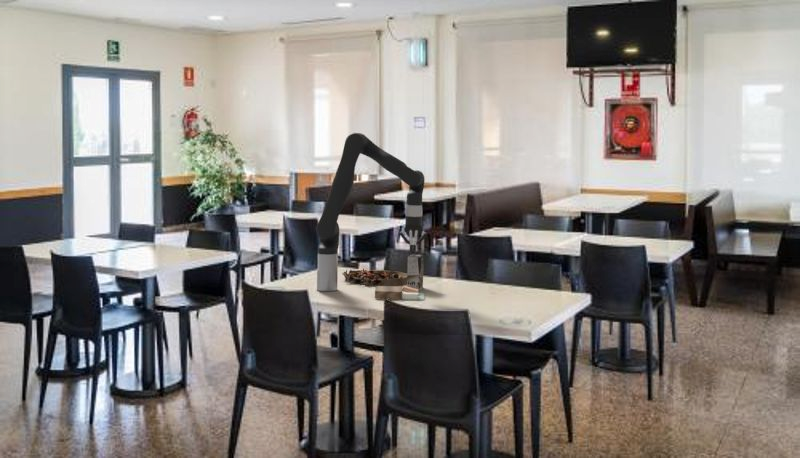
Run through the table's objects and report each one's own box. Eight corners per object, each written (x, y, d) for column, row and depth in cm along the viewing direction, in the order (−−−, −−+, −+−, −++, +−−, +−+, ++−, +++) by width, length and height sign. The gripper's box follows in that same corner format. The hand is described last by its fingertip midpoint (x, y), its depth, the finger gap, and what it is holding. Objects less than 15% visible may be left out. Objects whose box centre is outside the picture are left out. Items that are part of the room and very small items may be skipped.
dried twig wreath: (328, 283, 413) (328, 267, 412) (373, 276, 438) (373, 261, 437) (380, 290, 390) (380, 274, 389) (425, 282, 415) (425, 267, 414)
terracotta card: (402, 291, 377) (403, 287, 377) (402, 289, 381) (403, 285, 381) (417, 295, 378) (418, 291, 377) (416, 293, 382) (418, 289, 381)
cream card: (402, 298, 370) (402, 294, 370) (402, 296, 374) (402, 292, 374) (417, 298, 370) (418, 294, 369) (418, 297, 374) (418, 292, 373)
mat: (402, 299, 369) (402, 298, 369) (402, 293, 383) (402, 292, 383) (424, 300, 369) (424, 299, 369) (423, 294, 383) (423, 293, 383)
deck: (374, 298, 370) (375, 291, 369) (376, 293, 382) (376, 285, 382) (401, 299, 370) (402, 291, 369) (402, 293, 382) (402, 286, 382)
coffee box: (420, 291, 390) (420, 257, 388) (406, 290, 391) (407, 256, 389) (423, 287, 398) (424, 254, 397) (410, 286, 400) (410, 253, 398)
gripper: (399, 215, 371) (398, 253, 373) (428, 216, 371) (427, 254, 373) (399, 213, 378) (398, 251, 380) (428, 214, 378) (427, 252, 380)
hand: (412, 253), depth 377 cm, fingers closed
